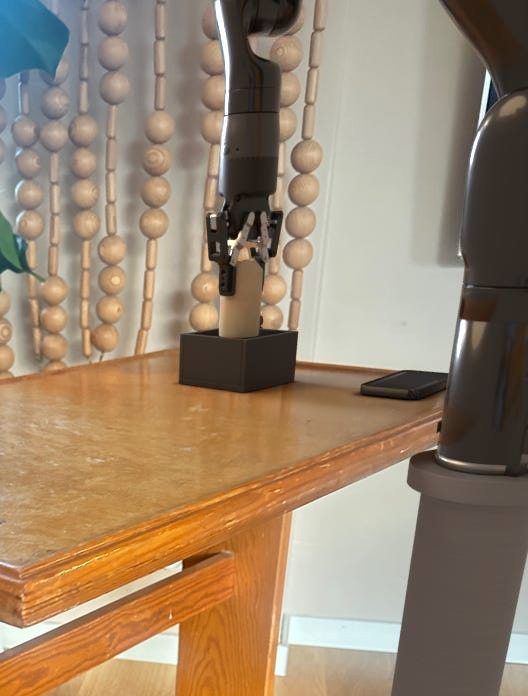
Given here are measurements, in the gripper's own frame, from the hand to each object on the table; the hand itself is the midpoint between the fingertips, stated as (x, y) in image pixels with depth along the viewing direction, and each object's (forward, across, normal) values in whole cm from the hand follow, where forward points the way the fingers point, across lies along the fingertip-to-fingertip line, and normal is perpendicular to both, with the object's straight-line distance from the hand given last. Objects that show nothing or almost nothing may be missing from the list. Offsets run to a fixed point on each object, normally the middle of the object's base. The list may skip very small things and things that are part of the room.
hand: (241, 293), depth 126 cm
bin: (+12, 0, 0) cm, 12 cm away
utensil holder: (+12, +16, +11) cm, 23 cm away
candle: (+6, 0, 0) cm, 6 cm away
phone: (+12, +10, -21) cm, 26 cm away
